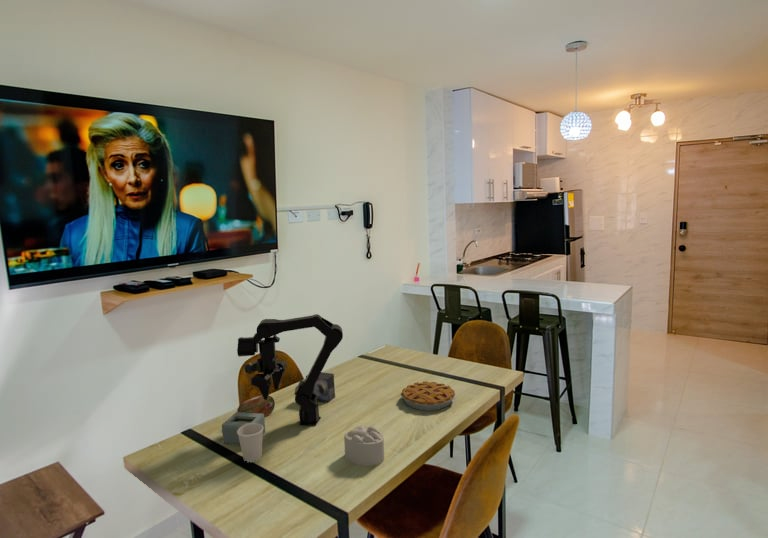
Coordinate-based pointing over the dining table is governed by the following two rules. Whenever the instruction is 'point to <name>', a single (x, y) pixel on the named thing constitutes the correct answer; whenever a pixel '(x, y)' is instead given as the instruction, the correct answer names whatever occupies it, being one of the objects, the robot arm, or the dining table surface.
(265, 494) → the dining table surface
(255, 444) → the dixie cup
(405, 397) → the pie
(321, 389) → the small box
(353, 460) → the lumpy-topped squat cylinder
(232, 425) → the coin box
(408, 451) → the dining table surface
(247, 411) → the tin
